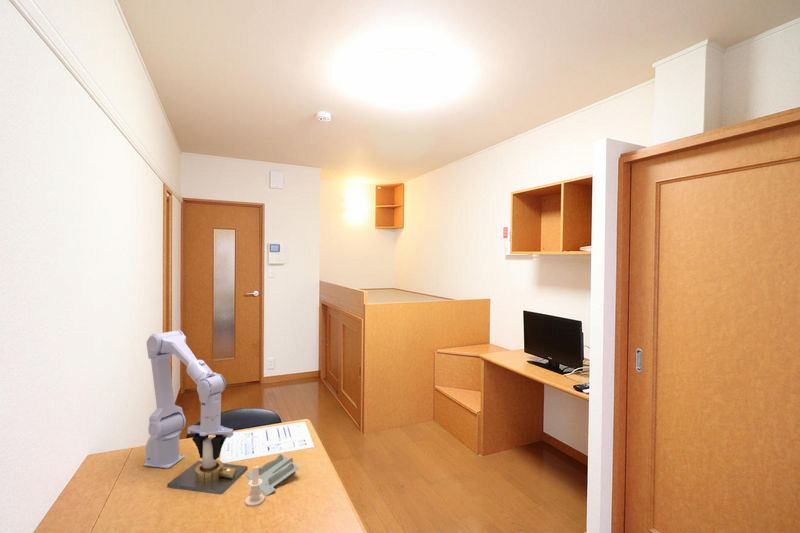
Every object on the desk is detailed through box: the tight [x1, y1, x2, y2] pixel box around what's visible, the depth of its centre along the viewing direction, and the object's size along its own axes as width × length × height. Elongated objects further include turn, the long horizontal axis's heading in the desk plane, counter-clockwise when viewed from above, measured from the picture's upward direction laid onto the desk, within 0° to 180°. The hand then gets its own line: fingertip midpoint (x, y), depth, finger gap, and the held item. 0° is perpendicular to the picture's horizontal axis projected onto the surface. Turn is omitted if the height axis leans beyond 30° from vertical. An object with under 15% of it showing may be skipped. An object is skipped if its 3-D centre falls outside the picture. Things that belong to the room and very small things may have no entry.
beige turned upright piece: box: [244, 464, 266, 507], centre depth 111 cm, size 5×5×10 cm
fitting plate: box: [166, 459, 249, 495], centre depth 122 cm, size 18×14×4 cm
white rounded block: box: [201, 436, 217, 469], centre depth 121 cm, size 4×4×8 cm
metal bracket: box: [245, 454, 300, 497], centre depth 122 cm, size 14×6×15 cm
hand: (209, 457), depth 121 cm, fingers closed on white rounded block, 4 cm apart
